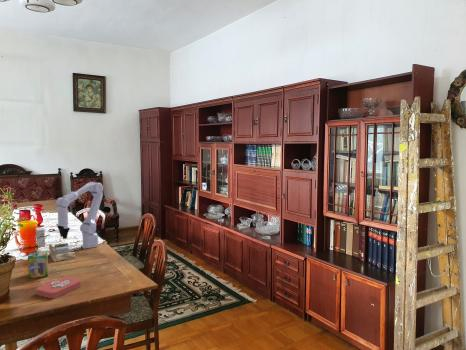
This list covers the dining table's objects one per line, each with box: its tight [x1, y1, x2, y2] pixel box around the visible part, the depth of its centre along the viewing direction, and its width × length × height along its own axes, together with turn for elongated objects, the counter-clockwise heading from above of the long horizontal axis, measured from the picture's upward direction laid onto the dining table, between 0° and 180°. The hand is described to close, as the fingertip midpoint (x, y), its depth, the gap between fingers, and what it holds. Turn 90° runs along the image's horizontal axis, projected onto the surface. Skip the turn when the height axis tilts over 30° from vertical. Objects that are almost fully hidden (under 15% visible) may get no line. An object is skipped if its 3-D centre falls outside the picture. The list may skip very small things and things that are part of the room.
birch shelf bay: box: [48, 242, 77, 263], centre depth 230 cm, size 12×16×7 cm
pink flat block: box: [35, 276, 82, 299], centre depth 180 cm, size 18×4×15 cm
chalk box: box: [27, 247, 49, 279], centre depth 198 cm, size 9×9×15 cm
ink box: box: [36, 227, 46, 248], centre depth 252 cm, size 8×5×12 cm, turn 123°
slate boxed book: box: [54, 245, 70, 255], centre depth 228 cm, size 7×4×6 cm, turn 126°
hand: (63, 237), depth 236 cm, fingers open, 6 cm apart
